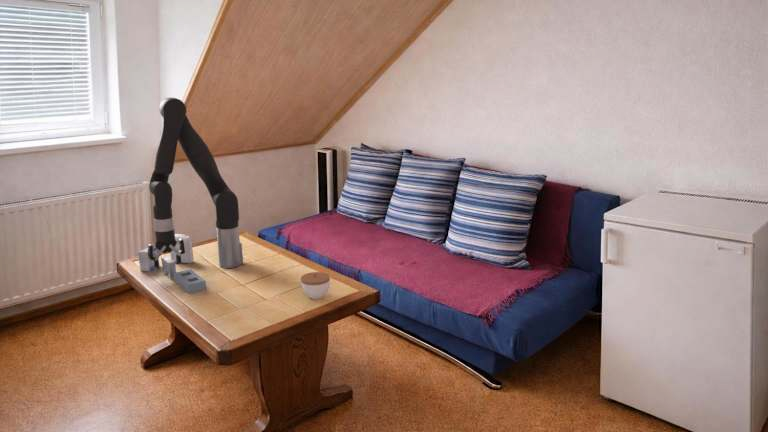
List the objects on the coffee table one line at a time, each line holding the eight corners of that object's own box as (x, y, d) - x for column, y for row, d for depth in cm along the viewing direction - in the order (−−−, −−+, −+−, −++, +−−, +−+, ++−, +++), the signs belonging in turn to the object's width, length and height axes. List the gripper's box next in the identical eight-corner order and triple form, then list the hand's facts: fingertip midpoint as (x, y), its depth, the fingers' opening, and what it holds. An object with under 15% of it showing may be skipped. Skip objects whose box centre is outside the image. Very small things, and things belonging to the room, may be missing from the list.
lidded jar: (306, 303, 230) (305, 280, 228) (298, 293, 240) (297, 270, 237) (334, 299, 234) (333, 275, 232) (325, 288, 244) (324, 266, 241)
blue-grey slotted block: (191, 277, 257) (190, 269, 256) (206, 289, 245) (205, 280, 244) (174, 281, 253) (173, 272, 252) (188, 293, 241) (187, 284, 240)
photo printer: (169, 261, 275) (166, 234, 272) (176, 258, 279) (173, 231, 276) (189, 264, 272) (186, 237, 268) (195, 261, 276) (192, 234, 272)
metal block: (168, 271, 264) (167, 255, 262) (176, 278, 256) (175, 262, 254) (162, 272, 262) (161, 256, 260) (170, 279, 255) (168, 263, 253)
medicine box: (149, 272, 263) (147, 252, 261) (140, 271, 264) (137, 251, 262) (159, 265, 271) (157, 246, 268) (150, 264, 272) (148, 245, 269)
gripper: (178, 223, 261) (182, 260, 265) (143, 229, 253) (147, 267, 257) (184, 227, 255) (188, 265, 259) (149, 233, 247) (153, 272, 251)
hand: (168, 266), depth 258 cm, fingers open, 8 cm apart
